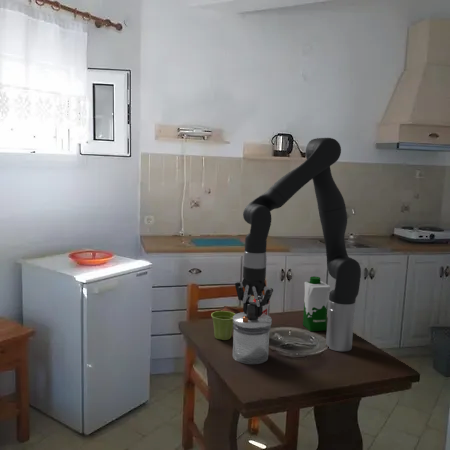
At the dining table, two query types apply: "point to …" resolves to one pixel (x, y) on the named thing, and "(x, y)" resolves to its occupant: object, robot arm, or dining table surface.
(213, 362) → the dining table surface
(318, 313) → the milk carton
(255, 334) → the cooker pot
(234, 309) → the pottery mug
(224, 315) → the plant pot
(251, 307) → the cooker lid
